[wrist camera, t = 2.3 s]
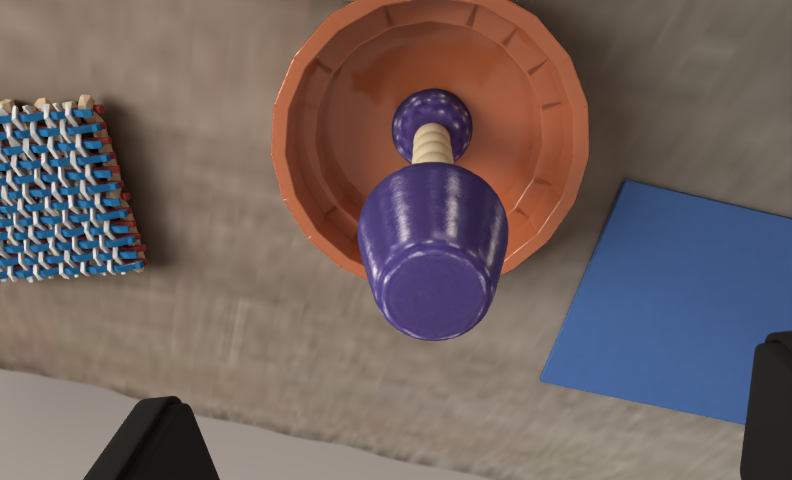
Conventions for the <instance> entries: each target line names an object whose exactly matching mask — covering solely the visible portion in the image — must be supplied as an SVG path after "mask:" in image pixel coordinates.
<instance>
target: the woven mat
mask: <svg viewBox="0 0 792 480" xmlns="http://www.w3.org/2000/svg"><path fill="white" fill-rule="evenodd" d="M62 106H63V109H62V108H61V107H60V105H59V104H58V103H54V104H52V103H51V102H50V101H48V100H47V99H46V98H41V99H38V100H37V101H36V103H35V106H28V105H26V106H22V107H23V112H18V107H17V106H15V104H14V102H13V100H10V99H6V100H3V101H0V124H3V127H4V130H3V129H2V128H1V126H0V159H1V160H0V279H2V281H7V278H11V279H12V281H13V282H16V281H18V278H19V277H21V278H27V280H29V283H32V282H34V276H36V277H37V279H38V280H39V281H41V280H43V277H48V278H50V279H53V278H54V275H55V274H60V275H61V276H63V278H66V279H69V275H70V276H71V275H74V276H75V277H78V274H79V273H83V274H85V275H86V276H89V274H88V273H87V272H90V273H94V274H103V275H106V272H107V271H109V272H110V273H112V274H113V275H116V274H115V272H116V273H117V272H122V275H123V274H125V273H126V271H129V270H133V271H136V272H142V271H144V267H145V265H147V264H148V261H147V258H145V256H144V252H143V251H145V250H147V248H146V245H145V244H142V245H141V242H140V239H141V238H142V237H141V234H140V233H138V231H137V228H136V226H137V224H136V220H134V217H133V214H132V213H133V212H132V208H131V207H129V205H128V204H127V202H125V201H124V200H128V199H130V198H131V196H130V193H128V192H124V191H121V187H123V186H125V185H124V182H123V180H121V176H120V172H121V169H120V166H118V165H117V161H116V154H115V152H113V149H112V146H111V144H112V141H111V137H108V134H107V130H106V128H107V125H106V121H105V122H104V121H103V119H102V118H101V117H100V116H99V115H98V114H97V113H102V112H105V109H104V106H103V105H94V100H93V98H92V97H91V95H86V94H82V95H81V97H80V99H79V103H78V107H77V104H76V101H70V102H64V103H62ZM36 107H37V108H38V109H39V110H40V111H37V109H36ZM80 117H83V118H84V120H85V121H86V122H87V123H81V119H80ZM39 120H45V122H46V125H47V126H44V125H37V123H38V121H39ZM66 120H67V124H68V125H66ZM88 132H93V135H94V138H88V137H82V133H88ZM43 136H46V137H49V138H48V141H47V140H46V139H45V138H44V137H43ZM29 141H30V142H31V143H29ZM88 148H91V149H96V148H98V150H99V153H90V151H89V149H88ZM56 150H57V151H56ZM32 152H35V153H38V155H39V157H36V156H35V155H34V154H33V153H32ZM18 155H19V159H18ZM98 162H102V163H103V166H104V167H97V166H96V163H98ZM79 165H81V166H82V168H81V167H80V166H79ZM40 167H43V169H44V171H41V170H40ZM1 171H5V172H6V174H3V173H2V172H1ZM101 178H107V179H108V181H101ZM42 181H46V182H49V185H45V184H44V183H43V182H42ZM8 184H9V185H10V186H11V188H9V186H8ZM105 191H107V193H105ZM90 194H91V195H90ZM51 195H53V196H54V199H51ZM31 196H34V197H35V199H32V197H31ZM67 196H68V198H67ZM123 199H124V200H123ZM108 206H112V207H113V208H109V207H108ZM76 207H77V208H76ZM39 211H40V213H39ZM1 212H2V213H4V215H2V214H1ZM119 217H120V220H121V221H117V220H114V219H115V218H119ZM76 222H78V223H80V222H81V223H80V224H77V223H76ZM42 223H45V226H43V225H42ZM23 226H27V227H23ZM118 233H125V234H118ZM82 234H86V236H82ZM63 235H64V236H66V237H63ZM126 244H128V245H129V246H124V247H123V246H122V245H126ZM33 251H34V252H33ZM72 260H73V261H75V262H73V261H72ZM39 263H40V264H39ZM114 271H115V272H114ZM89 277H90V276H89ZM0 284H1V282H0Z"/></svg>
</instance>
